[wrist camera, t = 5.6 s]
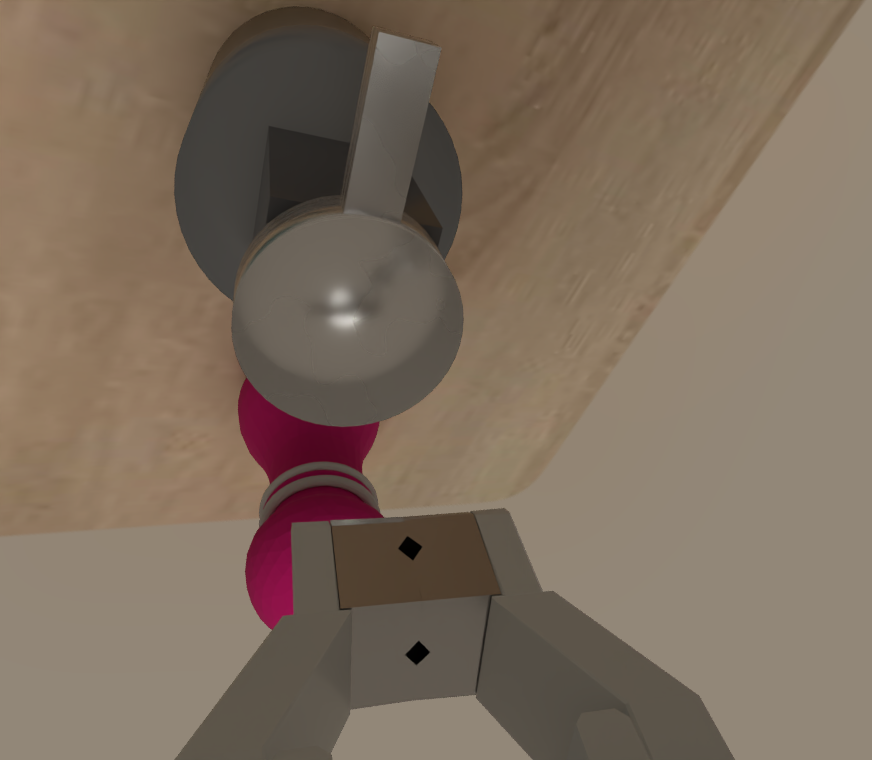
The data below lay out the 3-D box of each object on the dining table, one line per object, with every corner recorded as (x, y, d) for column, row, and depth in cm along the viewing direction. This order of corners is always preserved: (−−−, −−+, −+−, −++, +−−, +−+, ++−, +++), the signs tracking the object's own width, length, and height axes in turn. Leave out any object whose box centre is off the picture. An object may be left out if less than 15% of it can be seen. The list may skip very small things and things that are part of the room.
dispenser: (216, -18, 32) (158, 48, 15) (417, 34, 35) (573, 144, 17) (195, 186, 37) (130, 429, 19) (377, 220, 39) (469, 461, 21)
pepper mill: (279, 287, 40) (290, 549, 23) (393, 345, 43) (476, 613, 26) (217, 391, 42) (185, 697, 26) (329, 439, 45) (367, 740, 29)
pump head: (270, -22, 20) (273, 5, 13) (447, 25, 22) (539, 73, 14) (232, 268, 24) (218, 414, 17) (385, 291, 26) (432, 436, 18)
